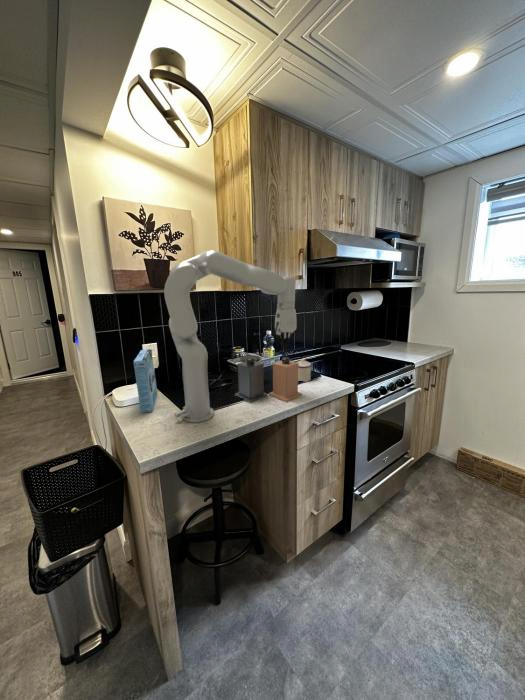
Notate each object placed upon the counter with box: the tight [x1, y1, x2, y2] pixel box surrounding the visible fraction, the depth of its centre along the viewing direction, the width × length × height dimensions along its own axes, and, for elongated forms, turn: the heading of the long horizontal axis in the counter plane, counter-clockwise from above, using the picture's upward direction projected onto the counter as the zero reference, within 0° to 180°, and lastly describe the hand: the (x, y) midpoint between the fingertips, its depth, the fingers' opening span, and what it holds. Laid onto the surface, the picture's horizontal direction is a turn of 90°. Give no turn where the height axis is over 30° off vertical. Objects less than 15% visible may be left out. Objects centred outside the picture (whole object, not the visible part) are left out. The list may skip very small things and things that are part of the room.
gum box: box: [133, 348, 158, 414], centre depth 121 cm, size 20×5×23 cm, turn 15°
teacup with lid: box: [296, 358, 312, 383], centre depth 150 cm, size 12×9×12 cm
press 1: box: [234, 361, 269, 404], centre depth 128 cm, size 11×12×16 cm
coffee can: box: [240, 354, 261, 363], centre depth 144 cm, size 10×10×14 cm
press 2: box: [268, 359, 303, 403], centre depth 128 cm, size 11×12×16 cm
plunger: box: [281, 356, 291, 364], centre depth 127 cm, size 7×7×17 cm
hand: (284, 346), depth 123 cm, fingers closed
